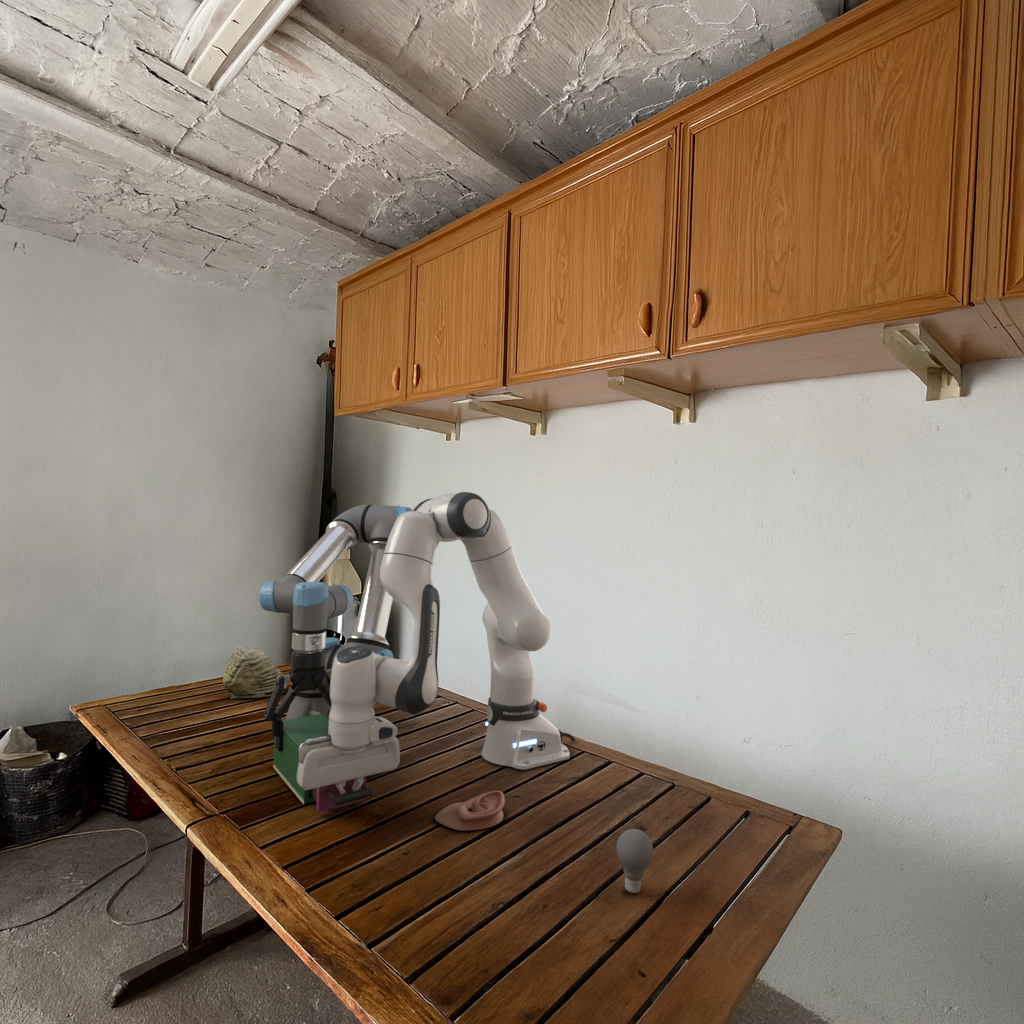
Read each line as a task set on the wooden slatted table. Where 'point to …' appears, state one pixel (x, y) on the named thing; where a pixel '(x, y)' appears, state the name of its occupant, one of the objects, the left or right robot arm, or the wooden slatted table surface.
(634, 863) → the light bulb
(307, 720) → the cabinet
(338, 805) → the drawer
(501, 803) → the anatomical model
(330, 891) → the wooden slatted table surface
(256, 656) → the fossil
